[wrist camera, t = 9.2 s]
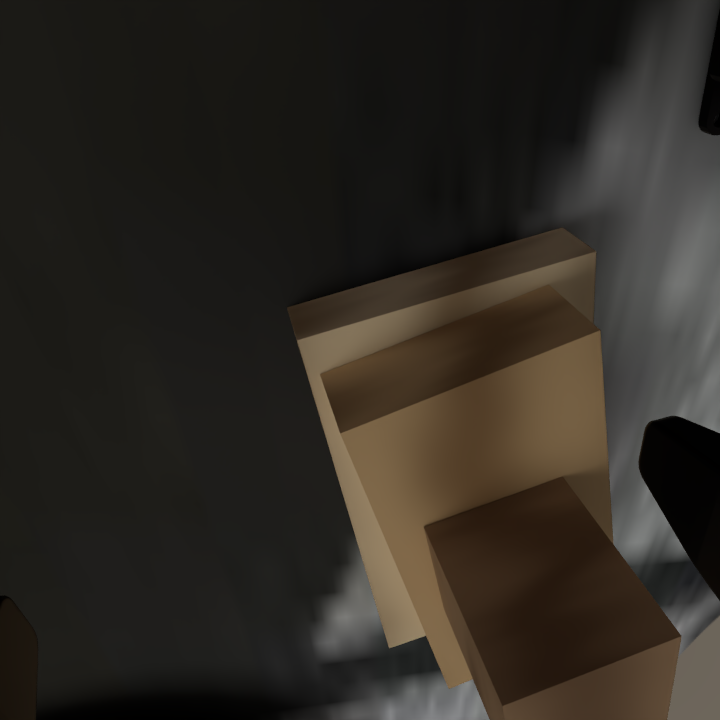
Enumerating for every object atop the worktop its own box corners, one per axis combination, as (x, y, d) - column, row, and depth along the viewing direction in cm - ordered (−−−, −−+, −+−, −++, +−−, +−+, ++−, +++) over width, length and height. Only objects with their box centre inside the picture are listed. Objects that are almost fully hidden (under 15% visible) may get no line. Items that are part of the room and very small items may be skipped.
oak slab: (548, 284, 20) (600, 329, 18) (581, 563, 30) (617, 618, 27) (320, 374, 20) (340, 433, 17) (426, 627, 29) (448, 688, 27)
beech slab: (550, 219, 22) (596, 251, 20) (552, 533, 33) (582, 580, 30) (283, 296, 21) (297, 340, 19) (373, 595, 32) (389, 648, 29)
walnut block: (562, 476, 21) (681, 636, 16) (565, 563, 24) (666, 721, 19) (423, 526, 20) (502, 706, 16) (443, 609, 23) (515, 781, 19)
